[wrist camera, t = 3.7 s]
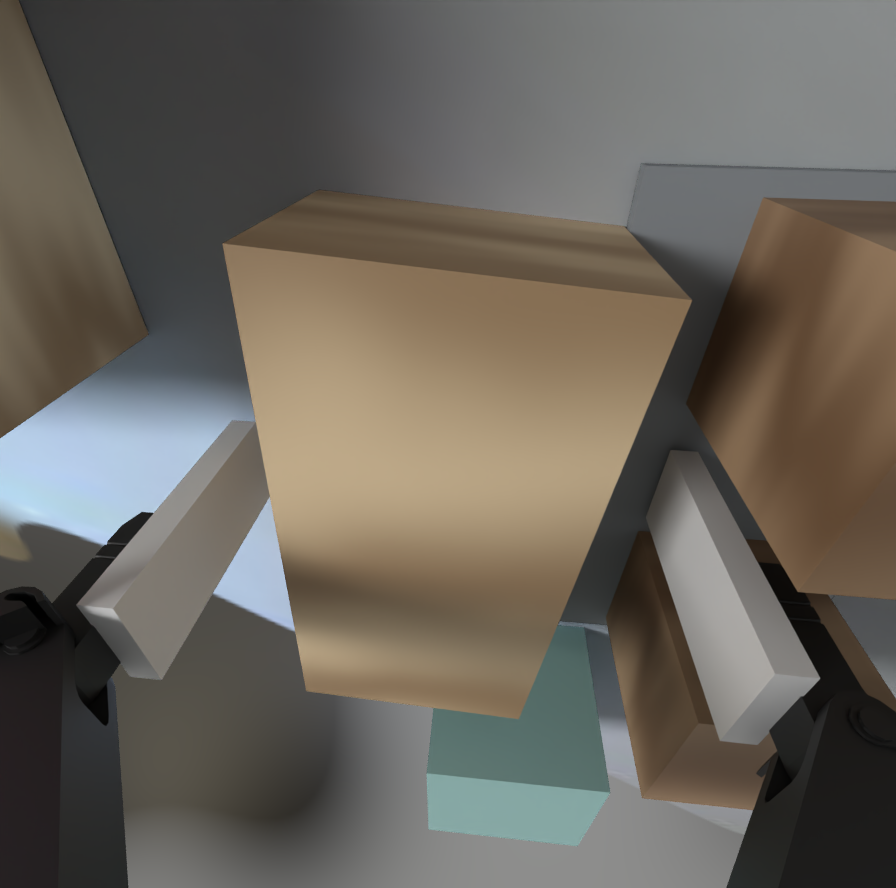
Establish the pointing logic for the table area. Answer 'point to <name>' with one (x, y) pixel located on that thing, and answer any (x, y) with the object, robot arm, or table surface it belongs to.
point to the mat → (693, 333)
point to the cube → (524, 758)
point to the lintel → (441, 429)
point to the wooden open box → (50, 245)
